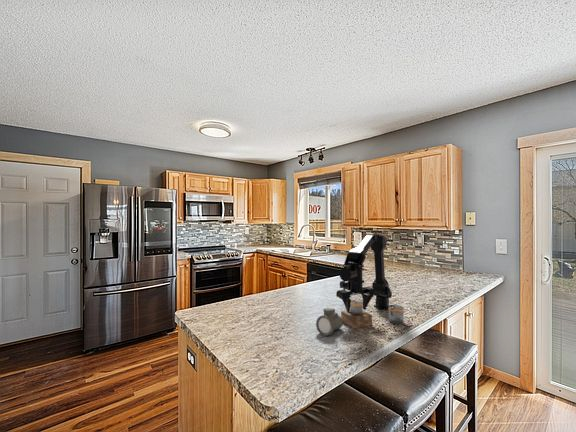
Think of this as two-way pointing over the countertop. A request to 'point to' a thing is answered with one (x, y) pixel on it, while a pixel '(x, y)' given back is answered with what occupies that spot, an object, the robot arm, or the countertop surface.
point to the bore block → (356, 319)
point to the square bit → (356, 307)
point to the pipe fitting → (328, 322)
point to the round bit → (396, 314)
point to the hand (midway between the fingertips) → (356, 311)
